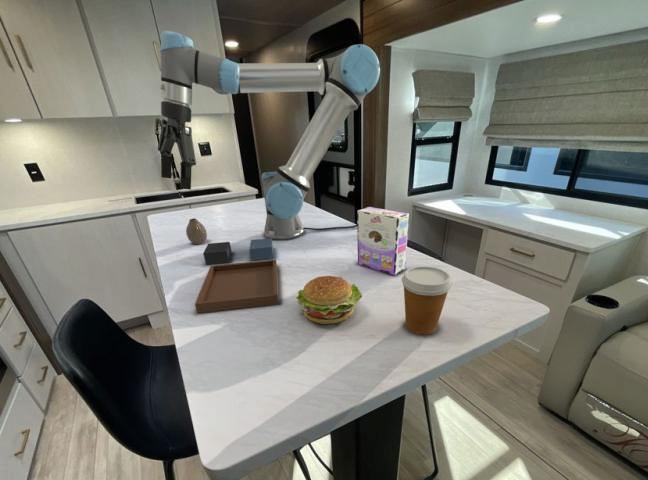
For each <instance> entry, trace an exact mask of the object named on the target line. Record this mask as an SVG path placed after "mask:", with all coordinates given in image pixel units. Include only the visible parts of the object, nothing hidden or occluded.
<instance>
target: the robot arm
mask: <svg viewBox="0 0 648 480" xmlns="http://www.w3.org/2000/svg"><path fill="white" fill-rule="evenodd" d="M160 37H161V39H160V40H161V41H160V51H159V52H160V84H159V85H158V87H159V89H160V90H161V91H160V97H161V99H163V100H161V101H160V115H161V116H162V117H164V118H162V119H161V128H160V133H159V140H158V145H157V151H158V152H159V154H160V177H161V178H163V179H172V156H173V153H172V152H173V148H174V146H175V143H176V145H177V149H178V152H179V156H180V160H181V162H180V163H179V165H180V177H179V178H180V184H179V185H180V187H179V188H180V190H192V167H194V166H196V165H197V161H196V160H197V159H196V154H195V147H194V141H193V133H192V127H191V126H187V124H186V123H191V122H192V108H191V106H193V84H196V85H199V86H202V87H203V86H204V87H205V88H209V89H212V90H213V91H214V92H216V93H217V94H219V95H229V94H232V95H237V94H249V93H250V94H253V93H255V94H256V93H297V92H298V93H303V92H304V93H305V92H318V93H319V94H320V95H321V96H324V97H323V98H322V100H321V102H320V104H319V106H318V107H317V109H316V110H315V112H314V114H313V116H312V118H311V120H310V121H309V123H308V125H307V127H306V128H305V131H304V132H303V134H302V136H301V138H300V140H299V141H298V143H297V145H296V146H295V148H294V150H293V151H292V154H291V155H290V157H289V159H288V161H287V162H286V164H285V165H282V166H279V167H278V169H277V170H276V171H266V172H263V173H262V174H261V183H262V189H263V197H264V204H265V205H264V206H265V212H266V218H265V224H264V230H263V231H264V236H265V238H266V239H268V238H272V240H280V241H281V240H290V239H295V238H298V237H300V236H302V235H303V234H304V233H305V230H307V231H308V230H309V231H327V230H339V229H354V228H356V227H357V224H354V225H349V226H347V225H346V226H332V227H331V226H330V227H321V228H320V227H319V228H315V227H304V226H303V223H302V220H301V218H300V216H299V213H300V212H301V210H302V208H303V206H304V199H305V197H306V196H307V194H308V193H309V191H310V189H311V186H310V185H311V184H310V179H311V178H312V176H313V174H314V173H315V172H316V169H317V168H318V166H319V164H320V163H321V161H322V160H323V158H324V157H325V154H326V152H327V151H328V149H329V148H330V146H331V144H332V142H333V141H334V139H335V138H336V136H337V134H338V132H339V131H340V129H341V127H342V126H343V124H344V122H345V120H346V119H347V117H348V115H349V114H350V112H352V111H357V110H358V109H359V107H360V106H361V103H362V102H363V101H364V99H365V97H366V95H367V94H369V93H370V92H371V91H373V90H374V89H375V87H376V86H377V84H378V82H379V79H380V75H381V68H380V67H381V66H380V61H379V58H378V56H377V54H376V52H375V51H374V50H373V49H372V48H371V47H369V46H368V45H366V44H362V43H359V44H352V45H350V46H349V47H347V48H346V49H345V50H344V51H343V52H342V53H340V54H338V55H336V56H334V57H329V58H319V59H318V61H317V62H271V63H270V62H267V63H265V62H260V63H259V62H258V63H257V62H256V63H255V62H253V63H247V62H246V63H237V62H236V61H232V60H230V59H228V58H223V57H219V56H216V55H213V54H210V53H206V52H203V51H200V50H199V49H198V50H197V48H195V46H194V42H193V39H192V38H190V37H188V36H186V35H184V34H181V33H178V32H175V31H172V30H164V31H162V32H161V36H160ZM165 118H167V119H165Z"/></svg>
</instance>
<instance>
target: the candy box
mask: <svg viewBox="0 0 648 480" xmlns="http://www.w3.org/2000/svg"><path fill="white" fill-rule="evenodd" d="M356 216H357V218H356V219H357V220H356V223H357V224H356V225H357V229H356V230H357V235H356V236H357V264H358V265H360V266H363V267H366V268H370V269H373V270H377V271H379V272H383V273H386V274H389V275H393V276H396V275H397V274H399V273H401V272H403V271H404V270H405V269H406V259H407V248H408V238H409V237H408V236H409V234H408V233H409V222H410V213H408V212H401V211H395V210H390V209H384V208H378V207H373V206H367V207H364V208H362V209H358V210H357V211H356Z"/></svg>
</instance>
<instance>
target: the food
mask: <svg viewBox="0 0 648 480" xmlns="http://www.w3.org/2000/svg"><path fill="white" fill-rule="evenodd" d="M362 298H363V295H362V293H361V291H360V289H359V288H358V286H357V285H356V284H355V283H352V285H351V284H350V283H349V282H348V281H347V280H346V279H344V278H341V277H339V276H335V275H321V276H318V277H315V278H313V279H310V280H308V282H307V283H305V285H304V286H303V289H299V290H298V292H297V296H296V297H295V299H296V300H297V304H298V305H299V306H300V307H301V310H302V313H303V314H304V317H305V318H306V319H308V321H311V322H313V323H316V324H321V325H323V324H324V325H328V324H337V323H340V322H343V321H345V320H347V319H349V318H350V317H351V315H353V313H354V308H355V307H354V306H355V305H357V303H358V302H359V301H360V299H362Z"/></svg>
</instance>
